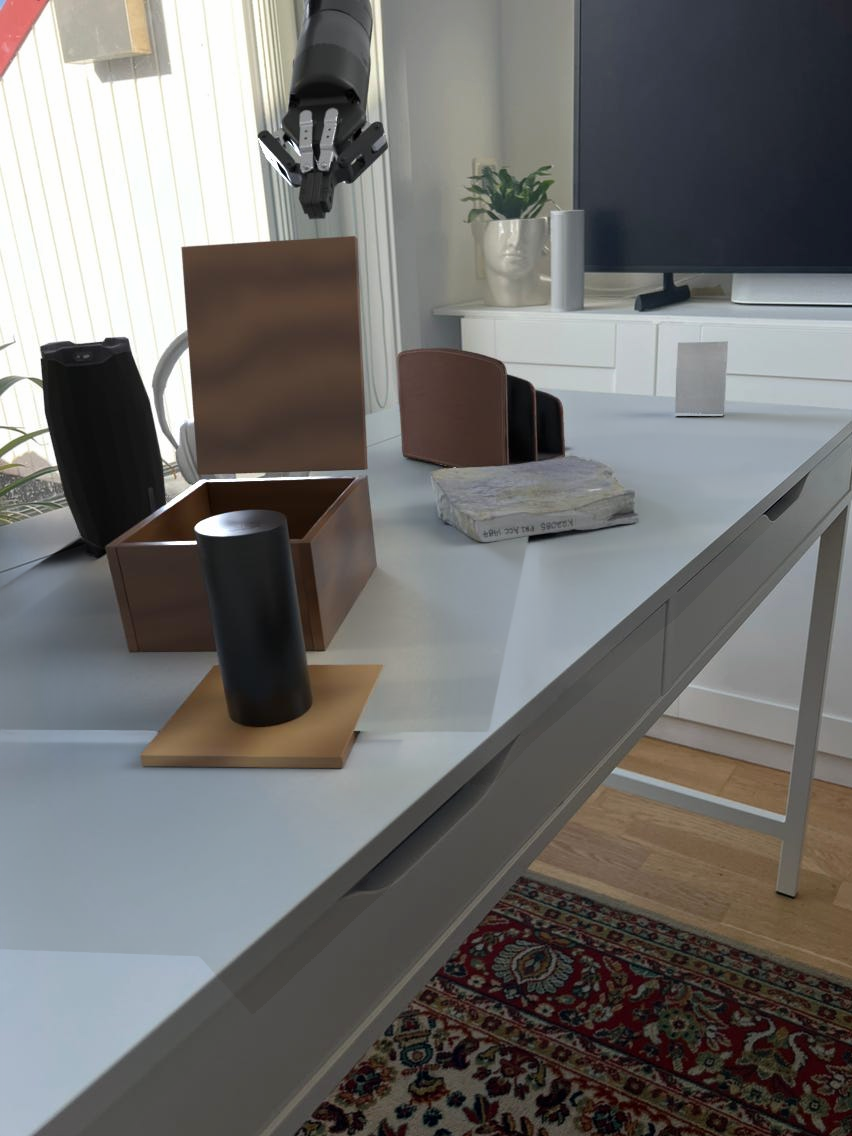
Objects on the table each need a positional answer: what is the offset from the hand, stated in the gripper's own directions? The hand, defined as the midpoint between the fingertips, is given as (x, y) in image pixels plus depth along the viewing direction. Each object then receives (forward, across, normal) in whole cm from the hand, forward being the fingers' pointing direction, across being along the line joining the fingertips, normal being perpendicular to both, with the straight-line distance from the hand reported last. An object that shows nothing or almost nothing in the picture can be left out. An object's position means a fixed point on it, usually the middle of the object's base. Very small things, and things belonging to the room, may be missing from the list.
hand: (314, 212), depth 89 cm
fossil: (+22, -20, -20) cm, 35 cm away
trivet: (+52, -6, +11) cm, 54 cm away
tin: (+52, -6, +12) cm, 53 cm away
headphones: (+16, +12, -25) cm, 32 cm away
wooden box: (+40, 0, -1) cm, 40 cm away
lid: (+20, 0, +4) cm, 20 cm away
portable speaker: (+28, +20, -14) cm, 37 cm away
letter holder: (+6, -12, -36) cm, 38 cm away
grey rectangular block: (-11, -40, -53) cm, 68 cm away
